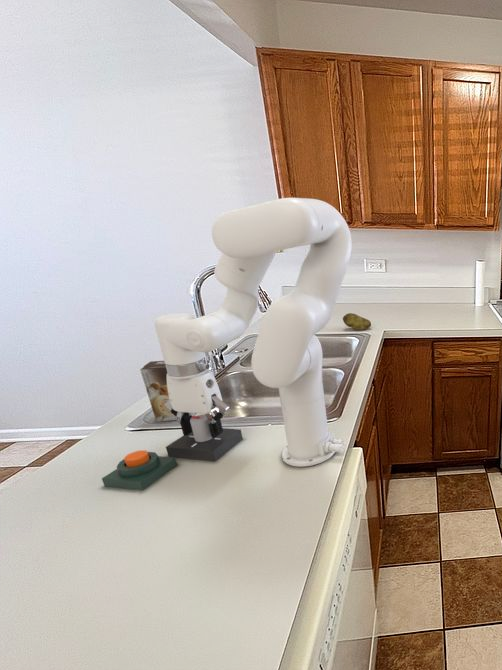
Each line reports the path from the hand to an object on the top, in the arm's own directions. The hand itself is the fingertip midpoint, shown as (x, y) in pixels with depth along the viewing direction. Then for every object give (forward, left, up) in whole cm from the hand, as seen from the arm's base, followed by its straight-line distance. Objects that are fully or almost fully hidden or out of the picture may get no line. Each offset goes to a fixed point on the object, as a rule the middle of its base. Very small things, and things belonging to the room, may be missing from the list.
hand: (203, 433), depth 98 cm
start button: (+6, +12, -1) cm, 13 cm away
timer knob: (0, 0, -1) cm, 1 cm away
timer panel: (0, 0, -4) cm, 4 cm away
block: (+6, +12, -4) cm, 14 cm away
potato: (+4, -107, 0) cm, 107 cm away
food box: (+20, -14, -4) cm, 25 cm away
